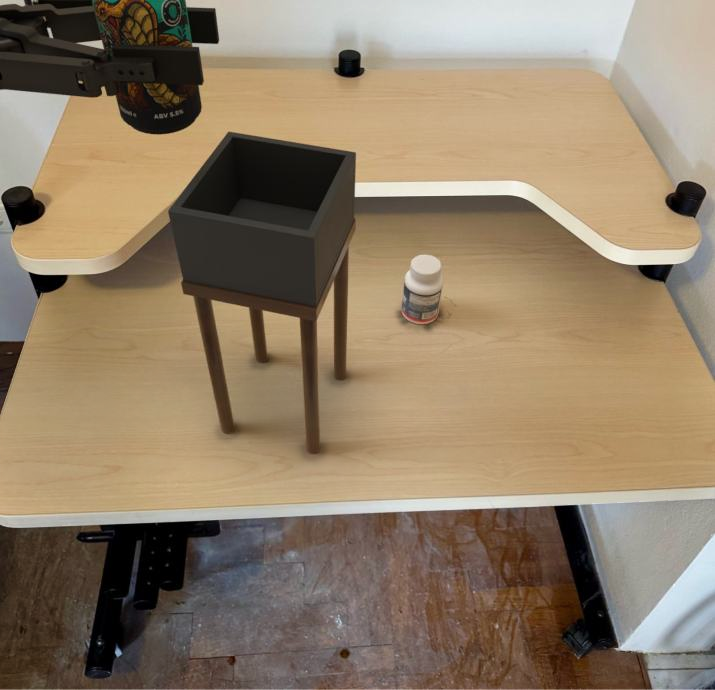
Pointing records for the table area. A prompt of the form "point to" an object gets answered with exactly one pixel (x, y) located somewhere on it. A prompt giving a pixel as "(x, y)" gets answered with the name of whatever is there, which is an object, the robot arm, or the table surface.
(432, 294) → the pill bottle
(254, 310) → the stool
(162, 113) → the beverage can
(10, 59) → the robot arm
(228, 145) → the trash bin
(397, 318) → the table surface
